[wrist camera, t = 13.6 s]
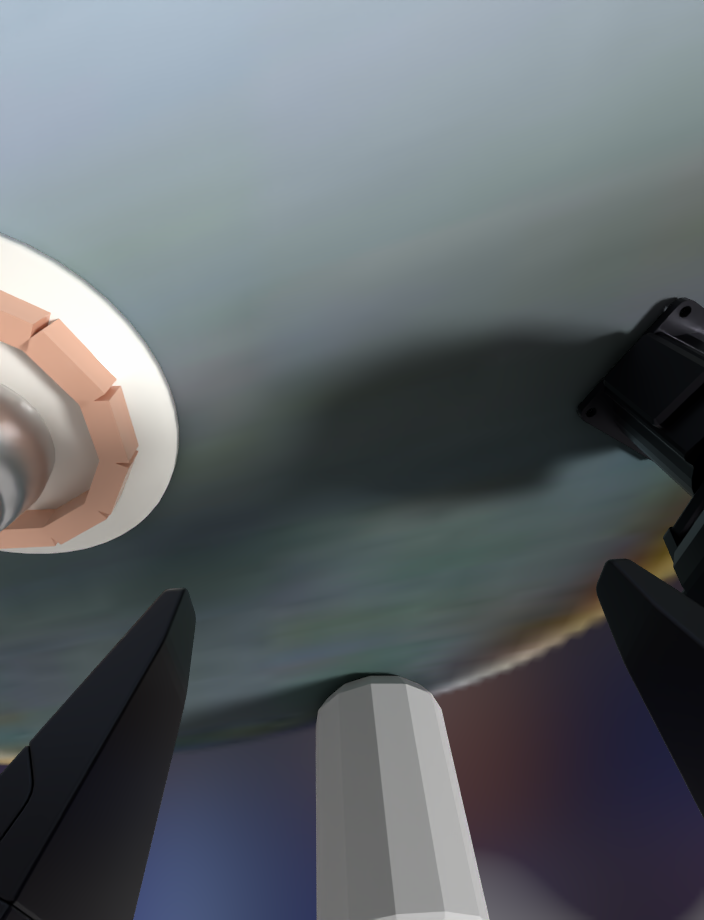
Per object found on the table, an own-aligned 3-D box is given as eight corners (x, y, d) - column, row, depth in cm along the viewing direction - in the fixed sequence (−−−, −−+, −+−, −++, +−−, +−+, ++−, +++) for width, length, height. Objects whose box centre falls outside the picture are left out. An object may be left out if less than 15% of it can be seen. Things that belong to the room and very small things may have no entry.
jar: (405, 741, 41) (459, 1086, 26) (298, 727, 38) (288, 1101, 23) (460, 679, 36) (565, 1059, 21) (341, 658, 33) (364, 1075, 18)
